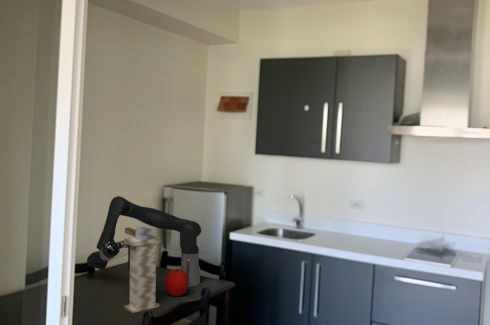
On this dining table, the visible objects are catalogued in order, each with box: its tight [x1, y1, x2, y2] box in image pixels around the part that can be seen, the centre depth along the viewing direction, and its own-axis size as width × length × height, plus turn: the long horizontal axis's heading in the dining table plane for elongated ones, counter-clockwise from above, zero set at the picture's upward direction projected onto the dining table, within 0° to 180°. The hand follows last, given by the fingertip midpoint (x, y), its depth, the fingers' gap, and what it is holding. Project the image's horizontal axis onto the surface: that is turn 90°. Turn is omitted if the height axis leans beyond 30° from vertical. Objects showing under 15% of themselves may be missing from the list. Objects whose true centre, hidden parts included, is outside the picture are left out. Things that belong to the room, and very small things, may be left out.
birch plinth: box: [123, 235, 161, 314], centre depth 238 cm, size 14×8×32 cm, turn 130°
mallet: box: [124, 226, 154, 241], centre depth 241 cm, size 6×19×5 cm, turn 40°
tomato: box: [165, 268, 189, 297], centre depth 256 cm, size 12×12×13 cm
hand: (122, 240), depth 252 cm, fingers open, 8 cm apart
